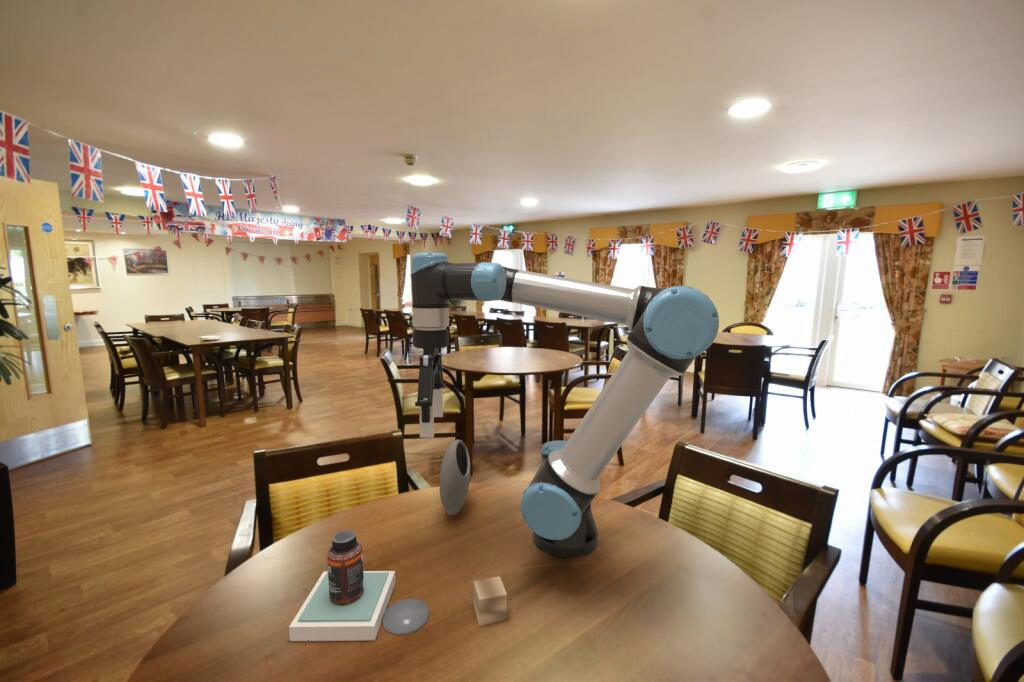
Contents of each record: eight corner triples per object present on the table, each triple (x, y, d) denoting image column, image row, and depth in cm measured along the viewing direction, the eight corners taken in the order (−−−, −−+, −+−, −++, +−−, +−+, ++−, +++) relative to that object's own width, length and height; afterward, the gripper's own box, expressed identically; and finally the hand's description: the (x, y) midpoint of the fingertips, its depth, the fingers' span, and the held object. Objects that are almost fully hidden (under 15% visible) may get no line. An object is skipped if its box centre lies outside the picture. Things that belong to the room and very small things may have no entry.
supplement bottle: (370, 585, 81) (368, 528, 79) (352, 608, 75) (350, 547, 73) (341, 581, 82) (339, 525, 80) (322, 603, 76) (319, 543, 75)
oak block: (499, 600, 81) (499, 576, 81) (506, 620, 77) (507, 594, 76) (473, 605, 80) (473, 581, 79) (479, 626, 75) (479, 599, 75)
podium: (395, 583, 86) (395, 569, 85) (374, 640, 72) (374, 623, 72) (324, 583, 85) (323, 569, 85) (289, 641, 72) (288, 624, 71)
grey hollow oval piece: (462, 530, 104) (461, 456, 102) (433, 529, 105) (432, 455, 103) (474, 494, 123) (474, 430, 120) (450, 493, 123) (449, 429, 121)
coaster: (429, 599, 82) (428, 595, 82) (428, 632, 74) (428, 628, 74) (385, 605, 80) (385, 601, 80) (380, 639, 72) (379, 635, 72)
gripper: (423, 323, 103) (424, 409, 105) (398, 334, 78) (401, 447, 81) (454, 323, 103) (455, 409, 106) (440, 334, 78) (442, 447, 81)
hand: (432, 426), depth 93 cm, fingers open, 13 cm apart
